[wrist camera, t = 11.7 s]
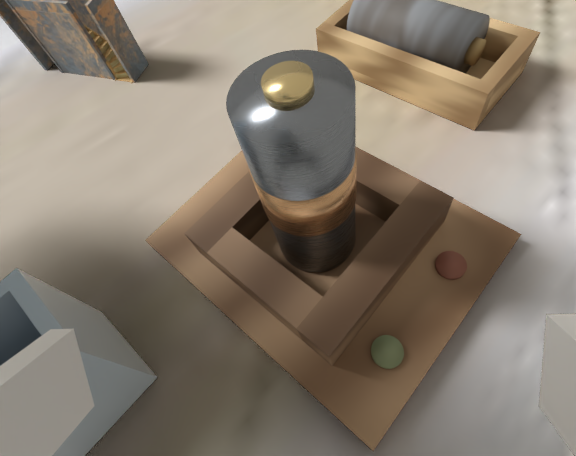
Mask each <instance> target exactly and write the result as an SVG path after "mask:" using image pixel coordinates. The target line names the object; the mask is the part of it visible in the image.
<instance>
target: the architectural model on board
mask: <svg viewBox="0 0 576 456" xmlns="http://www.w3.org/2000/svg"><path fill="white" fill-rule="evenodd" d="M0 17H1V18H2V19H3V20H4V21H5V23H6V24H7V25H8V26H9V27H10V29H11V30H12V31H13V32H14V33H15V35H16V36H17V37H18V38H19V39H20V41H21V42H22V43H23V44H24V45H25V47H26V48H27V49H28V50H29V51H30V53H31V54H32V55H33V56H34V57H35V59H36V60H37V61H38V62H39V63H40V65H41V66H42V67H43V68H44V69H45V70H48V69H49V68H50V67H51V66H52V65H53V64H54V63H55V65H56V66H57V67H58V69H59V70H60V71H61V72H62V73H64V72H65V73H72V74H79V75H86V76H94V77H101V78H108V79H113V80H115V81H116V80H120V81H127V82H131V83H132V82H134V83H135V82H136V80H137V79H138V78H139V76H140V75H141V74H142V72H143V71H144V70H145V68H146V67H147V66H148V62H147V60H146V59H145V57H144V55H143V53H142V51H141V50H140V48H139V46H138V44H137V42H136V40H135V39H134V37H133V35H132V33H131V31H130V29H129V28H128V26H127V24H126V22H125V20H124V18H123V17H122V15H121V13H120V11H119V9H118V8H117V6H116V4H115V2H114V0H0Z"/></svg>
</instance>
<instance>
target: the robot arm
mask: <svg viewBox="0 0 576 456" xmlns="http://www.w3.org/2000/svg"><path fill="white" fill-rule="evenodd" d="M94 406H95V405H94V402H93V398H92V394H91V391H90V387H89V383H88V380H87V376H86V372H85V369H84V365H83V361H82V358H81V354H80V350H79V347H78V343H77V339H76V336H75V332H74V329H50V330H49V331H48V332H46V333H45V334H43V335H42V336H41V337H39V338H38V339H37V340H35V341H34V342H32V343H31V344H30V345H28V346H27V347H26V348H24V349H23V350H21V351H20V352H19V353H17V354H16V355H15V356H13V357H12V358H10V359H9V360H8V361H6V362H5V363H3V364H2V365H1V366H0V456H52V455H53V454H54V453H55V452H56V451H57V449H58V448H59V447H60V446H61V445H62V444H63V442H64V441H65V440H66V439H67V438H68V436H69V435H70V434H71V433H72V432H73V431H74V429H75V428H76V427H77V426H78V425H79V423H80V422H81V421H82V420H83V419H84V418H85V416H86V415H87V414H88V413H89V412H90V411H91V409H92V408H93V407H94ZM539 408H540V409H541V410H542V412H543V413H544V414H545V416H546V417H547V419H548V420H549V421H550V423H551V424H552V426H553V427H554V428H555V430H556V431H557V432H558V434H559V435H560V437H561V438H562V439H563V441H564V442H565V444H566V445H567V446H568V448H569V449H570V451H571V452H572V453H573V455H574V456H576V313H574V314H546V324H545V336H544V348H543V360H542V372H541V384H540V396H539Z"/></svg>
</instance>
